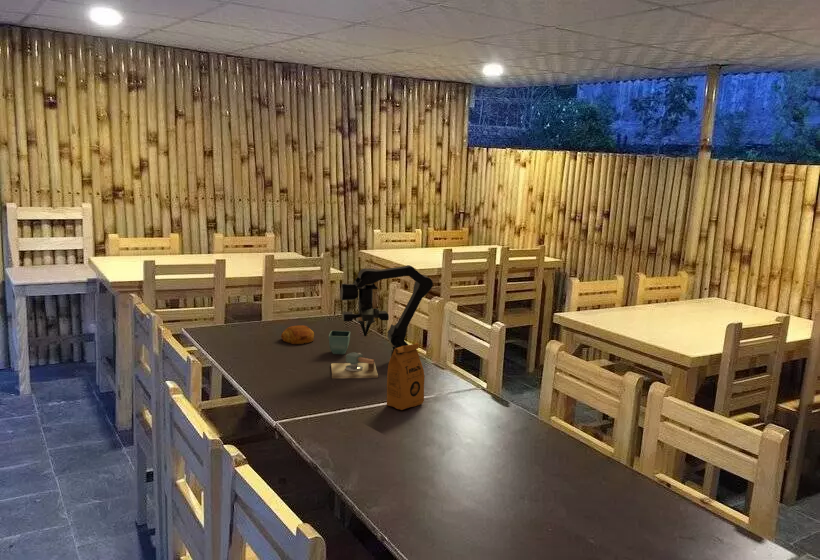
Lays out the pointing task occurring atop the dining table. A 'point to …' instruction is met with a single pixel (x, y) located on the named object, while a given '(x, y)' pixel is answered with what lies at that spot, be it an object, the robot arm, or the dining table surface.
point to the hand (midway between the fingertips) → (365, 336)
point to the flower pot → (339, 341)
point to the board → (340, 372)
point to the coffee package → (405, 378)
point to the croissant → (298, 335)
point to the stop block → (371, 367)
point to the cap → (357, 358)
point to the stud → (353, 368)
